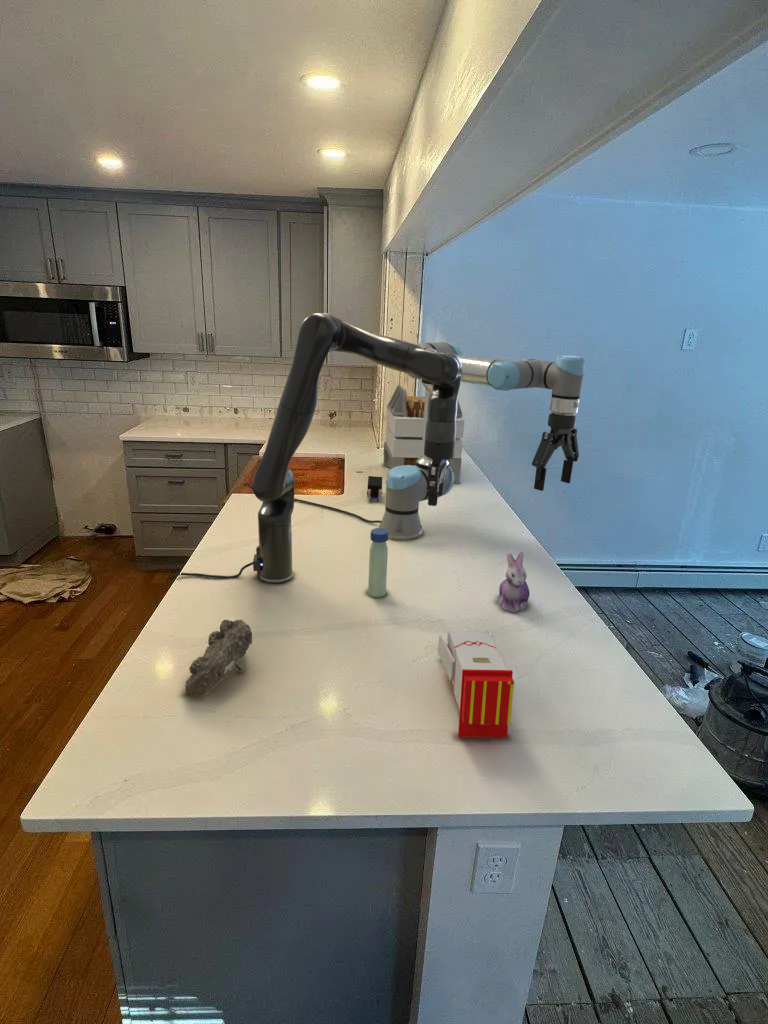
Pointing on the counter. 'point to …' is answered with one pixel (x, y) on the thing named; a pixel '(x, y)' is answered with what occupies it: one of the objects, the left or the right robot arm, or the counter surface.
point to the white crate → (413, 432)
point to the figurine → (514, 585)
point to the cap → (379, 535)
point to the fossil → (219, 656)
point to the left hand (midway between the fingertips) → (435, 500)
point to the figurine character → (374, 487)
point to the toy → (478, 682)
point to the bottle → (377, 569)
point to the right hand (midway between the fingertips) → (552, 485)
